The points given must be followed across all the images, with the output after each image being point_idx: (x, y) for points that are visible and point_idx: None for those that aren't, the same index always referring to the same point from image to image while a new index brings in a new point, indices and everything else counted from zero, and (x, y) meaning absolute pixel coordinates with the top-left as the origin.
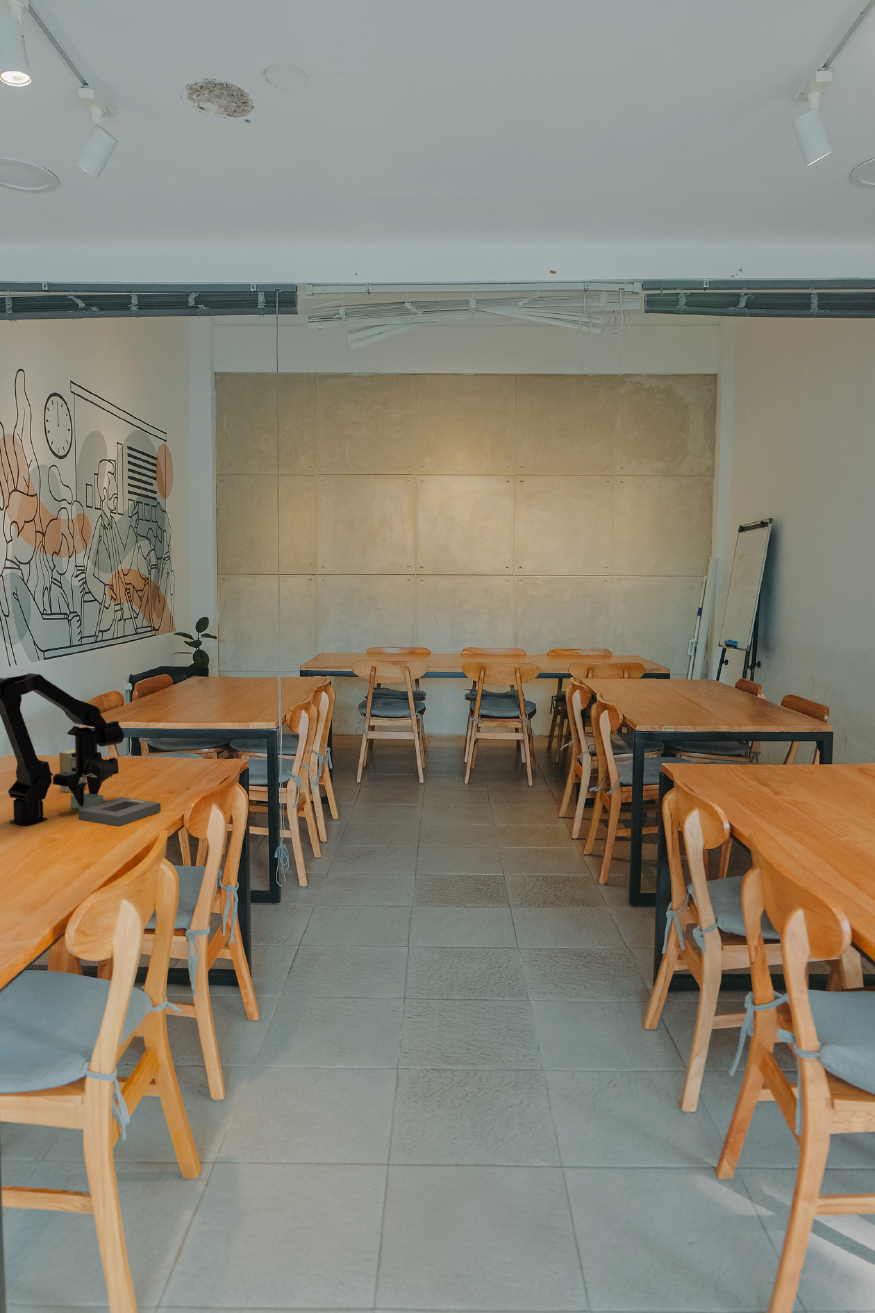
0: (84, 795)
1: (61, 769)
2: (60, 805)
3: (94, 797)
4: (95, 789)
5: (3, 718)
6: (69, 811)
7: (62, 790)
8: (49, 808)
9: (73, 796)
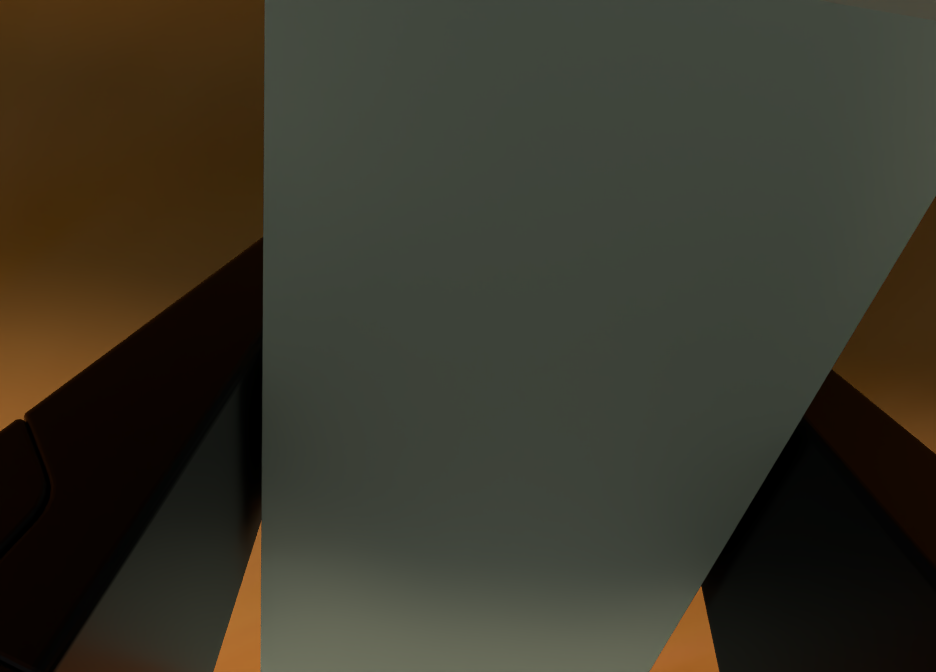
0: (538, 532)
1: None
2: None
3: (785, 82)
4: (171, 525)
5: None
6: (859, 376)
7: None
8: (687, 660)
9: (638, 665)
